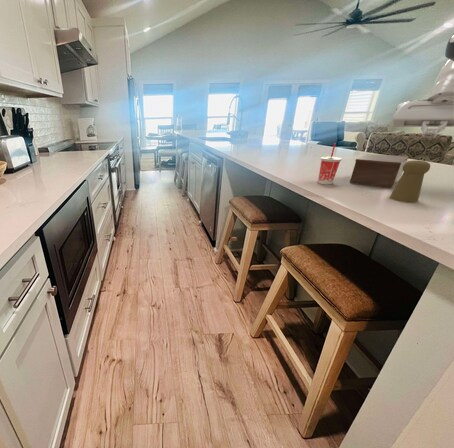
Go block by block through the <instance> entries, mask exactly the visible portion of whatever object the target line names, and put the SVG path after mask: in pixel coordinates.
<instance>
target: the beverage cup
mask: <svg viewBox="0 0 454 448" xmlns="http://www.w3.org/2000/svg"><path fill="white" fill-rule="evenodd" d="M335 148H336V142H334V143H333V147H332V150H331V154H330V156H322V157H320V166H319V172H318V178H317V183H318V184H321V185H332V184H334V180H335V177H336V176H337V175H336V174H337V172H338V169H339V165H340V163H341V162H342V159H343V158H341V157H338V156H334V152H335Z"/></svg>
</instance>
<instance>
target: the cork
mask: <svg viewBox="0 0 454 448" xmlns="http://www.w3.org/2000/svg"><path fill="white" fill-rule="evenodd" d="M430 170H431V163H430V162H428V161H425V160H407V162H406V163H405V164H404V166H403V172H402V175H401V178H400V180H399V181H398V183H397V184H396V185H395V186H394V187H393V188H394V189H393V190H392V192H391V193H390V196H389V199H391V200H393V201H395V202H396V201H397V202H402V203H410V204H411V203H412V204H413V203H418V202H419V199H420V195H421V190H422V186H423V181H424V177H425V174H426V173H428V172H429V171H430Z"/></svg>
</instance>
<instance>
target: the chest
mask: <svg viewBox="0 0 454 448" xmlns="http://www.w3.org/2000/svg"><path fill="white" fill-rule="evenodd" d="M406 162H408V159H407V160H406V161H404V162H403V163H402V164H401V165H392V164H380V163H368V162H357V161H356V160H355V163H354V167H353V169H352V173H351V177H350V179H349V184H356V185H362V186H371V187H378V188H385V189H391V190H392V189H393V188H395V187H396V185H397V183H398V181H399V180H400V178H401V176H402V174H403V173H404V171H403V166H404V164H405V163H406Z"/></svg>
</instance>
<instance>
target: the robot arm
mask: <svg viewBox="0 0 454 448" xmlns="http://www.w3.org/2000/svg"><path fill="white" fill-rule="evenodd" d="M444 57H445V58H446V59H448V60H447V62H446V63H445V64H444V66H442V68H441V70H440V71H439V73H438V75H437V76H436V79H435V81H434V83H433V86H432V88H431V89H430V91H429V92H428V94H427V96H426V99H417V100H415V99H414V100H405V101H403V102H401V103H399V104H398V105H397V107H396V108H395V112H394V114H393V115H392V117H391V121H390V125H391V126H392V127H395V128H396V127H397V128H399V127H400V128H409V127H410V128H420V130H421V132H422V134H421V138H436V137H437V135H438V134H439V133H441V132H442V131H444V130H445V129H446V128H454V34H453V35H452V36H451V37H450V38H449V40H448V42H447V44H446V47H445V52H444Z"/></svg>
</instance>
